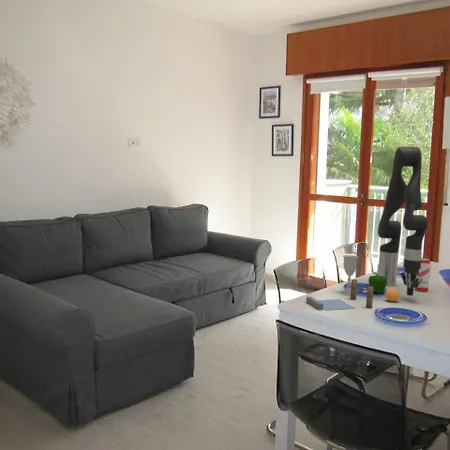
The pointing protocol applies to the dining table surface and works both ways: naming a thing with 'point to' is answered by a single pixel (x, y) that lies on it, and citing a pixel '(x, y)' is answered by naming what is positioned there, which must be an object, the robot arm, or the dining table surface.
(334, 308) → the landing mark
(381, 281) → the bell pepper
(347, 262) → the chalice
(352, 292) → the post
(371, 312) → the dining table surface
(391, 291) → the ball
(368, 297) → the post
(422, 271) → the beer can
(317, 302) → the wall
